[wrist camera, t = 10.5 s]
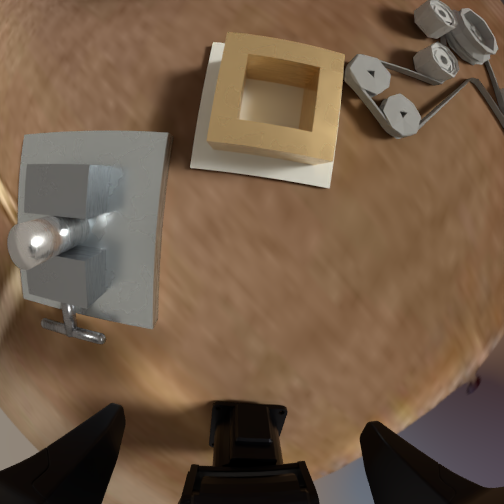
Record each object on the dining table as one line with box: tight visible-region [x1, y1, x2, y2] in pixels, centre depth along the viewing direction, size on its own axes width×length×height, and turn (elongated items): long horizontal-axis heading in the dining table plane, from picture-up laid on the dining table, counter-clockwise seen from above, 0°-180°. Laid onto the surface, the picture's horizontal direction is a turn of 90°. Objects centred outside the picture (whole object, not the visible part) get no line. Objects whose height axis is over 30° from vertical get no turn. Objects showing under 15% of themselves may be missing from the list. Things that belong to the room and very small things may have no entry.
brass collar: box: [207, 32, 345, 165], centre depth 15 cm, size 6×6×4 cm
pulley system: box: [344, 0, 504, 139], centre depth 15 cm, size 27×5×15 cm
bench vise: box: [8, 131, 173, 344], centre depth 15 cm, size 14×12×8 cm
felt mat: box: [190, 42, 344, 188], centre depth 17 cm, size 9×9×1 cm
